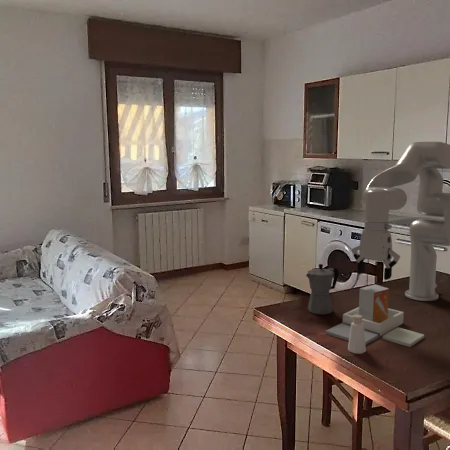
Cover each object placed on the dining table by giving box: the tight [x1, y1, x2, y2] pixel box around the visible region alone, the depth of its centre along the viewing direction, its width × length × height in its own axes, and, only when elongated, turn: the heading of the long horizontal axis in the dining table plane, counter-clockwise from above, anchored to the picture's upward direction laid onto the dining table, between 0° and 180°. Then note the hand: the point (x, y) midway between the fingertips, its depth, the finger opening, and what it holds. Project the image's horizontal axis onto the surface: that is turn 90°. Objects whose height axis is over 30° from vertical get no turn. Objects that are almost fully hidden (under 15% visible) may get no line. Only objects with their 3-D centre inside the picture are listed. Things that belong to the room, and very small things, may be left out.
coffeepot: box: [305, 263, 340, 315], centre depth 178 cm, size 15×9×18 cm, turn 119°
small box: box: [358, 284, 390, 323], centre depth 163 cm, size 8×6×13 cm
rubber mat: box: [382, 326, 425, 348], centre depth 152 cm, size 10×9×1 cm
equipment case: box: [325, 306, 405, 346], centre depth 160 cm, size 26×14×4 cm, turn 133°
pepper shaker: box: [347, 315, 367, 355], centre depth 143 cm, size 5×5×11 cm
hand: (374, 276), depth 161 cm, fingers open, 9 cm apart
